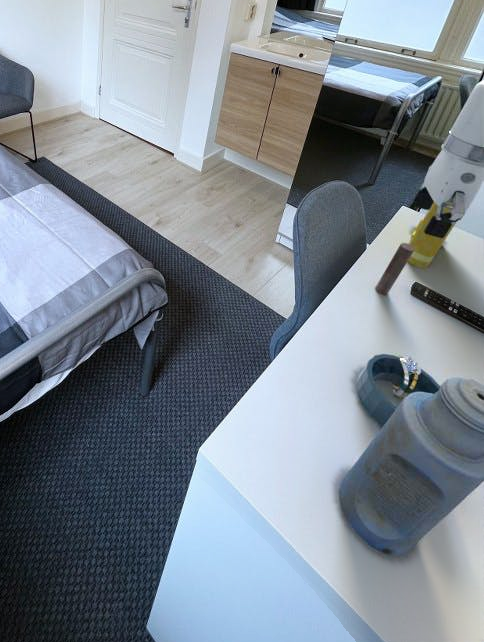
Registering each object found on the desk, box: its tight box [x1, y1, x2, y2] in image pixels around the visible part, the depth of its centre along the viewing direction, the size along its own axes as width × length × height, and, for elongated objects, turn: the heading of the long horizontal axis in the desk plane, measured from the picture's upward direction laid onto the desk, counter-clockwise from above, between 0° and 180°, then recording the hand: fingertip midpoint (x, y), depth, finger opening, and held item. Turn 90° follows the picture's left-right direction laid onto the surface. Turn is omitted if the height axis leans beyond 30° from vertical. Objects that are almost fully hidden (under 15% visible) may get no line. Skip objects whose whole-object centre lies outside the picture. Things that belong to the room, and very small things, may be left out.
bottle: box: [338, 377, 484, 556], centre depth 54 cm, size 10×10×30 cm
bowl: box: [355, 353, 441, 427], centre depth 75 cm, size 13×13×6 cm
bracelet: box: [392, 354, 422, 399], centre depth 77 cm, size 7×3×8 cm, turn 147°
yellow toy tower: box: [407, 202, 467, 269], centre depth 109 cm, size 17×7×25 cm, turn 133°
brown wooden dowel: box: [374, 242, 414, 296], centre depth 96 cm, size 3×3×15 cm
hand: (426, 220), depth 85 cm, fingers open, 9 cm apart
